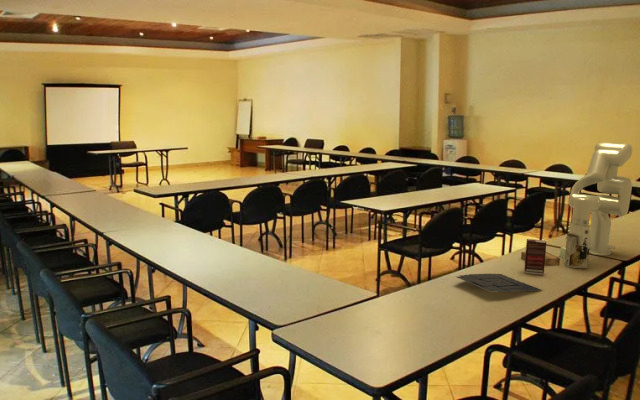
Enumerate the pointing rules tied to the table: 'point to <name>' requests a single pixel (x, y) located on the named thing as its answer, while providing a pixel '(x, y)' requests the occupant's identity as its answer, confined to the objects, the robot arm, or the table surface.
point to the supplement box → (535, 256)
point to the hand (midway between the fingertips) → (576, 256)
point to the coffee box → (574, 253)
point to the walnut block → (546, 259)
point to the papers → (497, 283)
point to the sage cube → (562, 252)
